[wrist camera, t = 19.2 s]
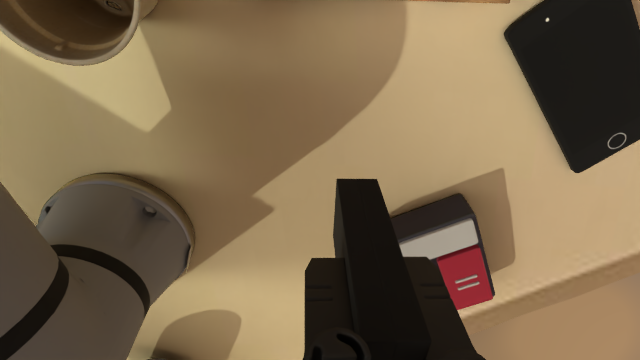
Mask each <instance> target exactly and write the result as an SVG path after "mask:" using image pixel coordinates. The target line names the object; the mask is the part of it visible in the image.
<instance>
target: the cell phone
mask: <svg viewBox="0 0 640 360" xmlns="http://www.w3.org/2000/svg"><path fill="white" fill-rule="evenodd" d="M504 36H505V39H506V41H507V42H508V44H509V46H510V48H511V50H512V52H513V54H514V56H515V58H516V60H517V62H518V64H519V66H520V68H521V70H522V72H523V74H524V76H525V78H526V80H527V82H528V84H529V86H530V88H531V90H532V92H533V94H534V96H535V98H536V100H537V102H538V104H539V106H540V108H541V110H542V112H543V114H544V116H545V118H546V120H547V122H548V124H549V126H550V128H551V130H552V132H553V134H554V136H555V138H556V140H557V142H558V144H559V146H560V148H561V150H562V152H563V154H564V156H565V158H566V160H567V162H568V164H569V166H570V169H571V170H573V171H574V172H575V173H580V172H582V171H584V170H586V169H588V168H590V167H591V166H593V165H595V164H597V163H599V162H600V161H602V160H604V159H606V158H608V157H609V156H611V155H613V154H615V153H616V152H618V151H620V150H622V149H624V148H625V147H627V146H629V145H631V144H632V143H634V142H636V141H638V140H640V29H639V25H638V22H637V19H636V15H635V12H634V8H633V5H632V2H631V0H544V1H542V2H541V3H540V4H538V5H537V6H536V7H534V8H533V9H532V10H530V11H529V12H528V13H526V14H525V15H523V16H522V17H521V18H519V19H518V20H517V21H515V22H514V23H513V24H511V25H510V26H509V27H508V28H507V29H506V30H505V32H504Z"/></svg>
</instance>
